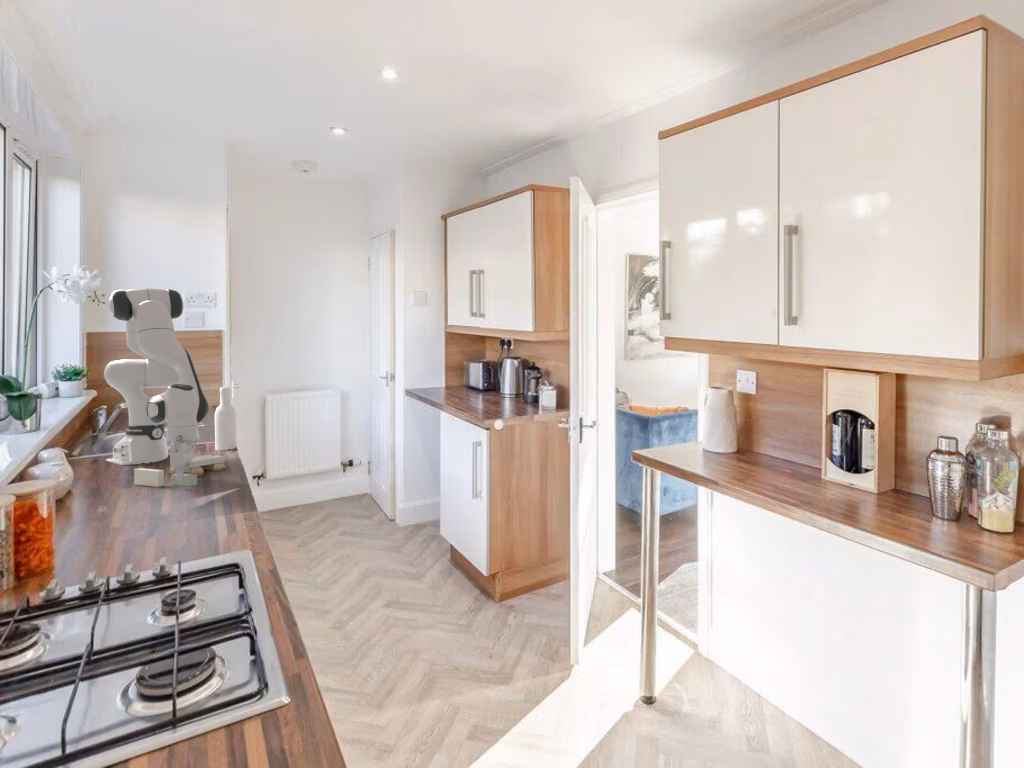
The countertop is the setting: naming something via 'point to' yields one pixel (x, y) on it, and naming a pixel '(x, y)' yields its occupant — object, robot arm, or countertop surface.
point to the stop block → (149, 477)
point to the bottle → (225, 422)
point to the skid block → (184, 480)
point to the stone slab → (206, 460)
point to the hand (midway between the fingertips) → (183, 477)
